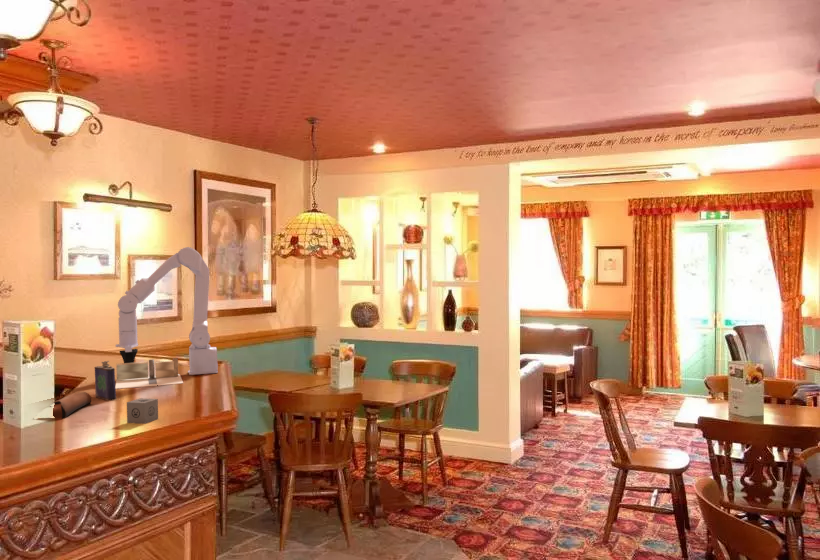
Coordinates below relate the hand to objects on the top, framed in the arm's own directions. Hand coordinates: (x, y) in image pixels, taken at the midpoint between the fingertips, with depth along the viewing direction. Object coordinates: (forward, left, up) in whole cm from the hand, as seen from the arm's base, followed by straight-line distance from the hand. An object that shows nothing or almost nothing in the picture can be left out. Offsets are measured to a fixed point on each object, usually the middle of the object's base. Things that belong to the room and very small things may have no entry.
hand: (129, 371), depth 230 cm
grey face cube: (-3, +72, -3) cm, 72 cm away
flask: (+6, +35, -3) cm, 36 cm away
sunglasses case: (+16, +50, -3) cm, 52 cm away
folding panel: (-1, +5, -2) cm, 5 cm away
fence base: (-11, +5, -2) cm, 12 cm away
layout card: (-6, +10, -2) cm, 12 cm away
